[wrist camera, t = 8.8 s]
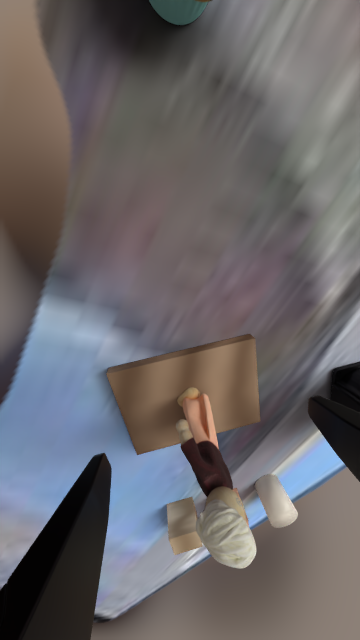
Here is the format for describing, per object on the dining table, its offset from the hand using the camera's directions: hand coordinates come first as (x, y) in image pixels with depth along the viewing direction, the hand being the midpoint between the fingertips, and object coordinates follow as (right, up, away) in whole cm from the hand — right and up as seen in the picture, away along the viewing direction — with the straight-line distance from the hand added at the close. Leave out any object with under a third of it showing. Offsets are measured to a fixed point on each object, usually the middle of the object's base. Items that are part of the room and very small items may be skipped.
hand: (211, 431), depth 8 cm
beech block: (-1, -25, +22) cm, 33 cm away
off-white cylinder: (+13, -22, +23) cm, 34 cm away
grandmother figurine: (0, -4, +14) cm, 15 cm away
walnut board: (0, -4, +15) cm, 16 cm away
